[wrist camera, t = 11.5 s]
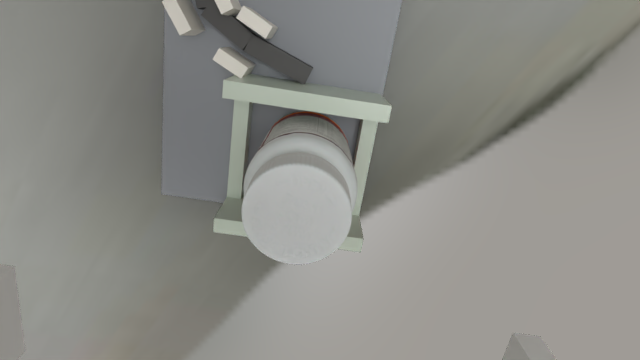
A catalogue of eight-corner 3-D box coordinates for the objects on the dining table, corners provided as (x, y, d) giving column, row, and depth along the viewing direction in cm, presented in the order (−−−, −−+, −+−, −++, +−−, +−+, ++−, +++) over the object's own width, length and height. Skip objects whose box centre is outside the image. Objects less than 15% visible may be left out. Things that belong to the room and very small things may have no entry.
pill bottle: (311, 206, 30) (304, 298, 20) (246, 155, 29) (202, 224, 18) (366, 147, 29) (392, 212, 18) (301, 90, 27) (287, 124, 17)
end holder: (240, 72, 27) (223, 79, 22) (380, 93, 27) (391, 106, 23) (230, 201, 30) (213, 231, 25) (355, 219, 31) (360, 252, 26)
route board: (173, -88, 25) (145, -112, 21) (408, -48, 25) (424, -63, 22) (167, 188, 31) (144, 210, 27) (355, 215, 32) (360, 240, 28)
